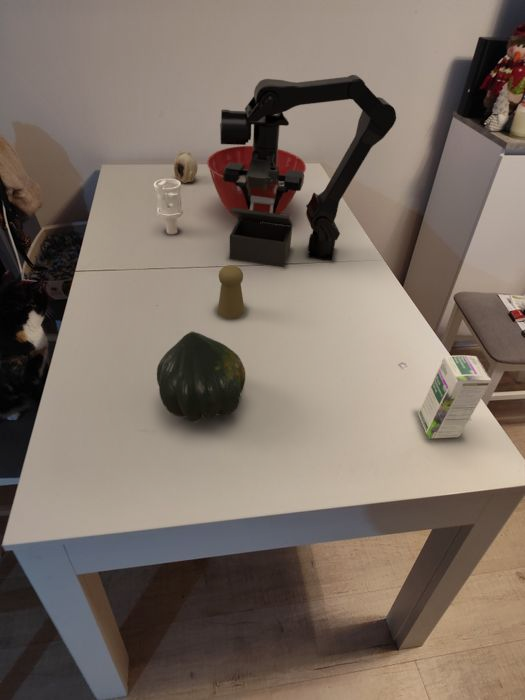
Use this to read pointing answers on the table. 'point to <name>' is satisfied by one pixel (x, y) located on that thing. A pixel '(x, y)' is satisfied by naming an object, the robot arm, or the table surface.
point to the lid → (262, 213)
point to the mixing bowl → (243, 155)
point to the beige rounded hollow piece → (185, 167)
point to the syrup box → (453, 396)
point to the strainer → (169, 203)
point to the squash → (200, 378)
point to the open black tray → (260, 242)
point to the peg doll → (231, 292)
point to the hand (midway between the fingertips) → (261, 210)
